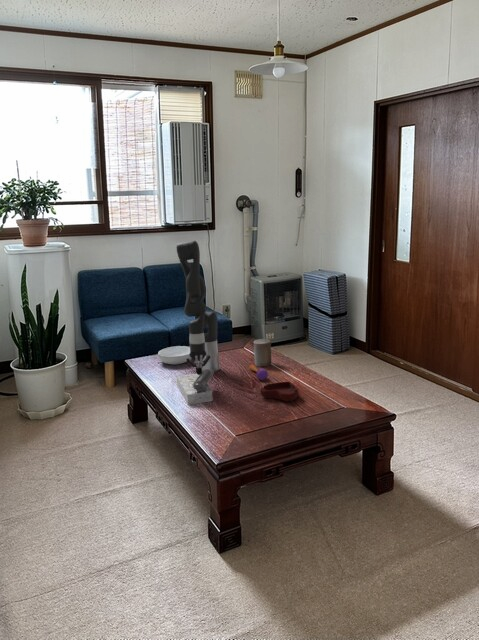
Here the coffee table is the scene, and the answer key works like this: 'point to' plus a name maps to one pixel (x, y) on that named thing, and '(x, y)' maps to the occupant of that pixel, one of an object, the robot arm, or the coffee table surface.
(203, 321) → the robot arm
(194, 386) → the bar
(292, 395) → the ashtray
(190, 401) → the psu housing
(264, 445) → the coffee table surface
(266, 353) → the pillar candle
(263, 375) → the kendama
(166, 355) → the serving bowl
